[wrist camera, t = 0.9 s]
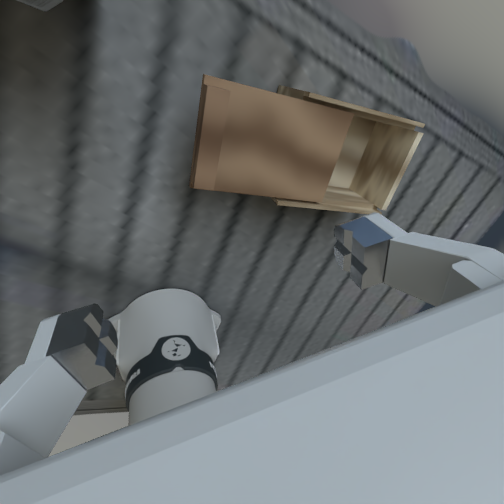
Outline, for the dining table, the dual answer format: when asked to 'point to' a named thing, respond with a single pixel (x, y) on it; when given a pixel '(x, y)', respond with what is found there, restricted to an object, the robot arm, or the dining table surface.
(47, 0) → the coffee box
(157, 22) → the dining table surface
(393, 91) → the dining table surface
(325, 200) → the crate
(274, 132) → the lid
